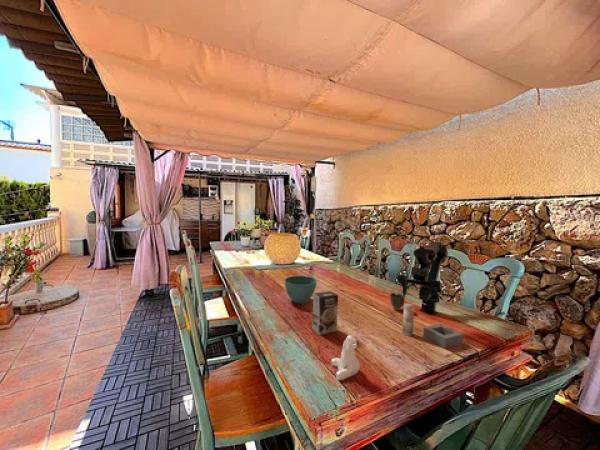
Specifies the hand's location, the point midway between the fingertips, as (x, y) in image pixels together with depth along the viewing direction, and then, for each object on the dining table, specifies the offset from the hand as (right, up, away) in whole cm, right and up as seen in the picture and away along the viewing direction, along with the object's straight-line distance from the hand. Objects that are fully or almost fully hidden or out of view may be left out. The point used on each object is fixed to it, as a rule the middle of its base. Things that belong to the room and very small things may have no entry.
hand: (414, 298), depth 116 cm
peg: (-5, -14, -5) cm, 15 cm away
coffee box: (-41, -13, -4) cm, 43 cm away
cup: (+1, -12, +22) cm, 26 cm away
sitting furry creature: (-36, -15, -32) cm, 51 cm away
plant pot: (-51, -11, +32) cm, 61 cm away
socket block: (+7, -14, -10) cm, 19 cm away
